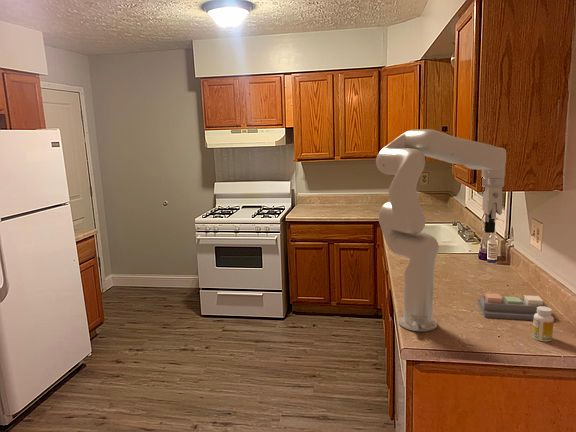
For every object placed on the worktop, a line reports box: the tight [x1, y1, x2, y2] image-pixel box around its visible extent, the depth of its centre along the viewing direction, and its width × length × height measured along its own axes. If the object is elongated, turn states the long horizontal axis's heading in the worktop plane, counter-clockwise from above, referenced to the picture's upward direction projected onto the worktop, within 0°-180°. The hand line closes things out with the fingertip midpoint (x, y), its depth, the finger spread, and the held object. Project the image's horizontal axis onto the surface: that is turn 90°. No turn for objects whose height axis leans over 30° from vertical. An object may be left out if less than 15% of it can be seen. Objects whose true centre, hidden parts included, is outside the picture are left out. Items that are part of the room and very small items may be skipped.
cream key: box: [523, 294, 544, 306], centre depth 154 cm, size 5×5×3 cm
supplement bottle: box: [531, 306, 555, 343], centre depth 136 cm, size 5×5×10 cm
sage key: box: [504, 295, 522, 304], centre depth 156 cm, size 5×5×3 cm
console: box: [476, 295, 549, 321], centre depth 156 cm, size 13×21×4 cm, turn 77°
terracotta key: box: [484, 292, 502, 303], centre depth 157 cm, size 5×5×3 cm
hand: (489, 232), depth 161 cm, fingers closed
